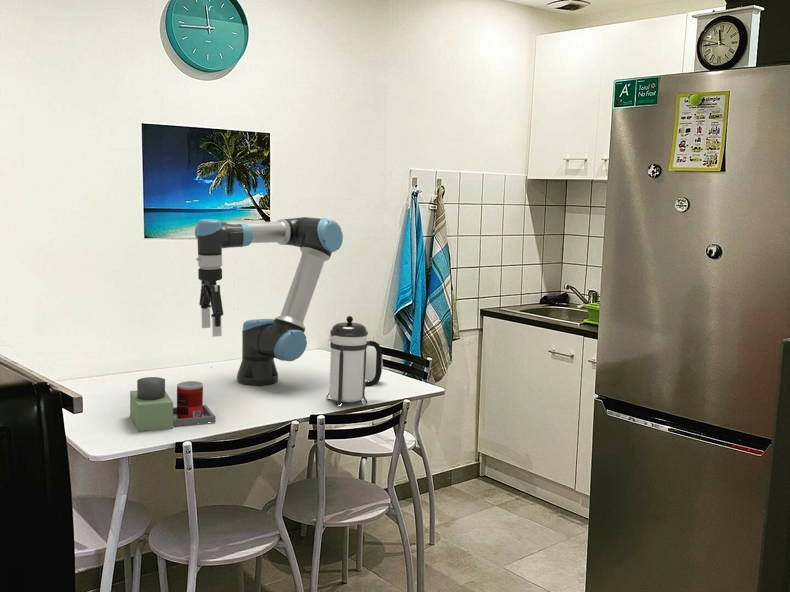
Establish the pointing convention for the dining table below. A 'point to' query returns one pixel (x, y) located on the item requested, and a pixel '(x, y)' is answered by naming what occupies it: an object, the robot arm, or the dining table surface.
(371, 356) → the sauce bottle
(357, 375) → the coffee press
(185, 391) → the canned food
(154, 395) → the capped block with tray
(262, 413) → the dining table surface
